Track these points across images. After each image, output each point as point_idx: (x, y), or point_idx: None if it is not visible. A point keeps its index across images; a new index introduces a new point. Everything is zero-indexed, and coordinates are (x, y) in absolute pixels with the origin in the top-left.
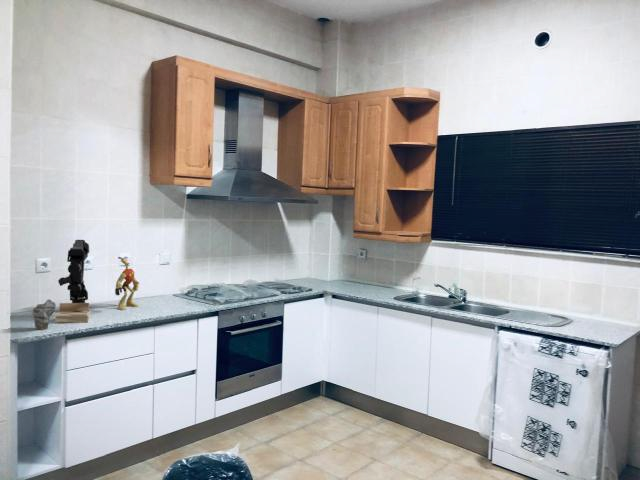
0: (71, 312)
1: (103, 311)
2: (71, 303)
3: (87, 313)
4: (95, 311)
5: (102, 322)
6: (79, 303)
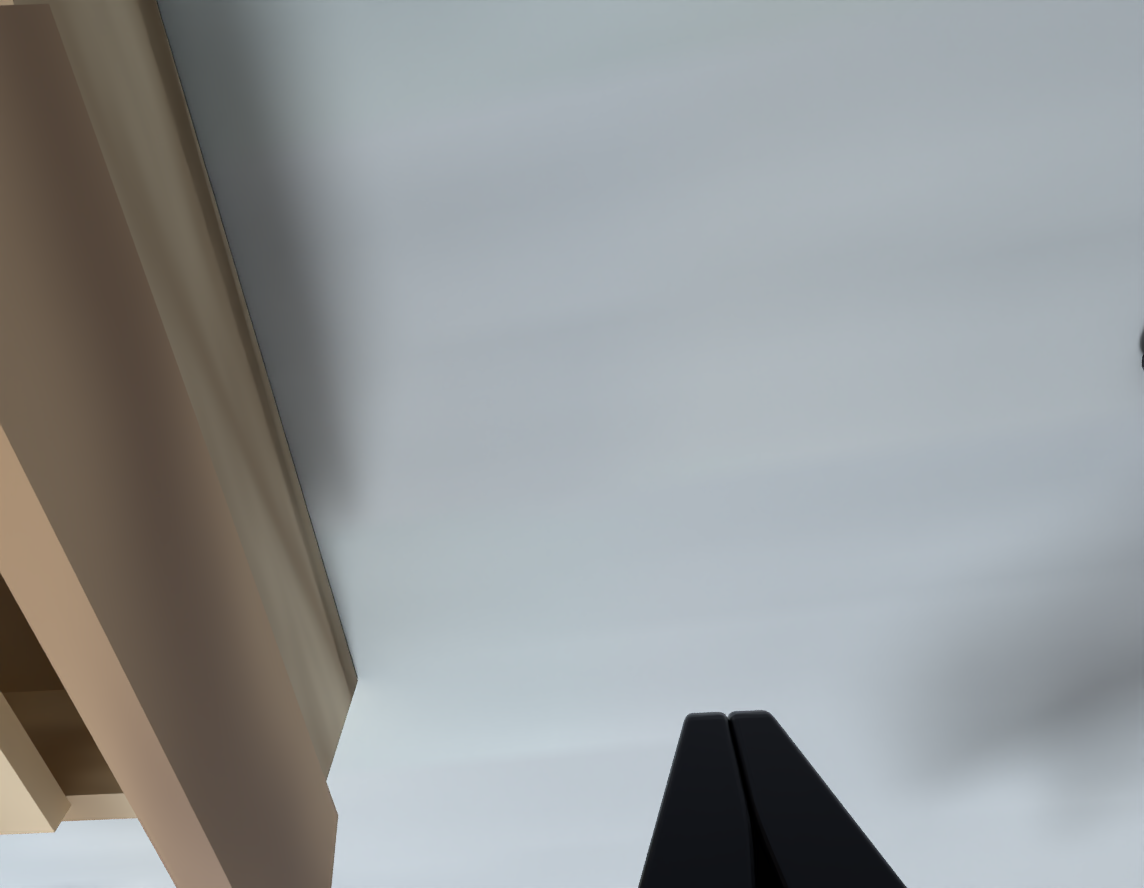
0: None
1: (1016, 801)
2: (53, 652)
3: (26, 819)
4: (1074, 691)
5: (47, 868)
6: (187, 869)
